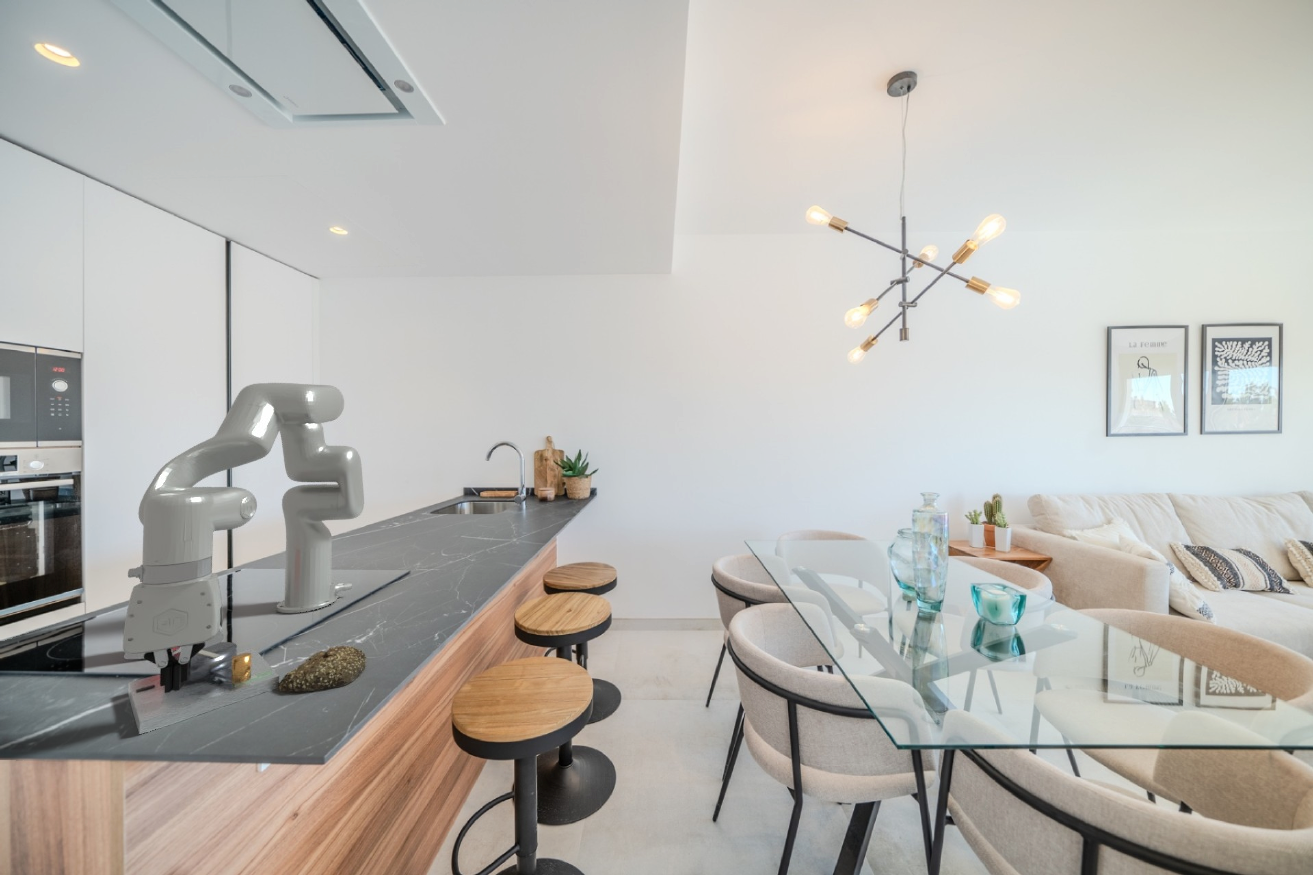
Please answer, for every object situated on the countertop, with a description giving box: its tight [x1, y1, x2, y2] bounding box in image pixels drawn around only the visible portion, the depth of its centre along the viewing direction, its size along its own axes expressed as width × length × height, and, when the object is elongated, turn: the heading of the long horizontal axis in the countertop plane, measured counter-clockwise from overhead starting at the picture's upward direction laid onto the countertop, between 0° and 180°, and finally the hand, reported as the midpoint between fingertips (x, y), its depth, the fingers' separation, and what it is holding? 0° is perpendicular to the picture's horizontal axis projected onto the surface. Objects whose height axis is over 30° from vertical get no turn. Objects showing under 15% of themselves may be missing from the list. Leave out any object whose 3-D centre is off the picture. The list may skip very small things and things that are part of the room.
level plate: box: [127, 647, 280, 735], centre depth 76 cm, size 16×17×3 cm
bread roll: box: [277, 645, 367, 693], centre depth 82 cm, size 13×12×5 cm
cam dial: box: [173, 641, 251, 684], centre depth 77 cm, size 17×9×4 cm, turn 71°
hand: (175, 687), depth 69 cm, fingers closed
